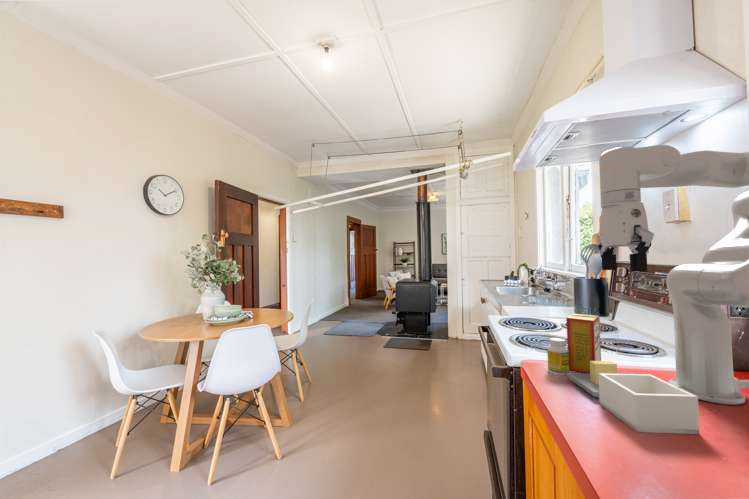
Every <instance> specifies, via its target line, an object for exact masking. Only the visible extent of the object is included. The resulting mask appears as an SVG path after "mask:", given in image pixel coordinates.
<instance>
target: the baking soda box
mask: <svg viewBox="0 0 749 499" xmlns="http://www.w3.org/2000/svg"><path fill="white" fill-rule="evenodd" d="M600 325H601V323H600V315H594V314H584V313H572V314H571V315H568V316H567V317H566V338H567V339H566V341H567V342H566V343H567V348H568V351H569V372H572V371H573V372H572V373H578V374H590V361H602V354H601V353H602V350H601V326H600Z"/></svg>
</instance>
